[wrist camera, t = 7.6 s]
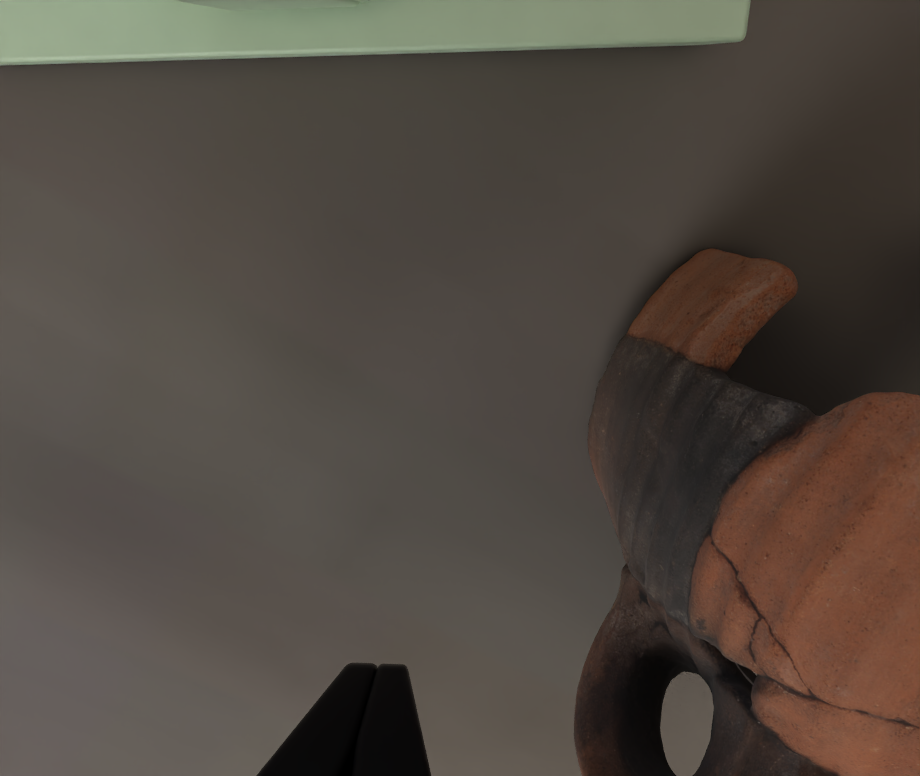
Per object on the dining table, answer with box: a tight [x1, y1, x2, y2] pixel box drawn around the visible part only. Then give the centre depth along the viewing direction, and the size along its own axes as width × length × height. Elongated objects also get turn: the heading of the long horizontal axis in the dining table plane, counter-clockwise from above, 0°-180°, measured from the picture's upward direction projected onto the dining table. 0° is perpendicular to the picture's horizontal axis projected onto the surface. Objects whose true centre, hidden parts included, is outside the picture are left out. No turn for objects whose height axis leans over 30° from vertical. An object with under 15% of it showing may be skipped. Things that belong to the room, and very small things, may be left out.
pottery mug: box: [574, 248, 920, 776], centre depth 12 cm, size 12×10×8 cm
